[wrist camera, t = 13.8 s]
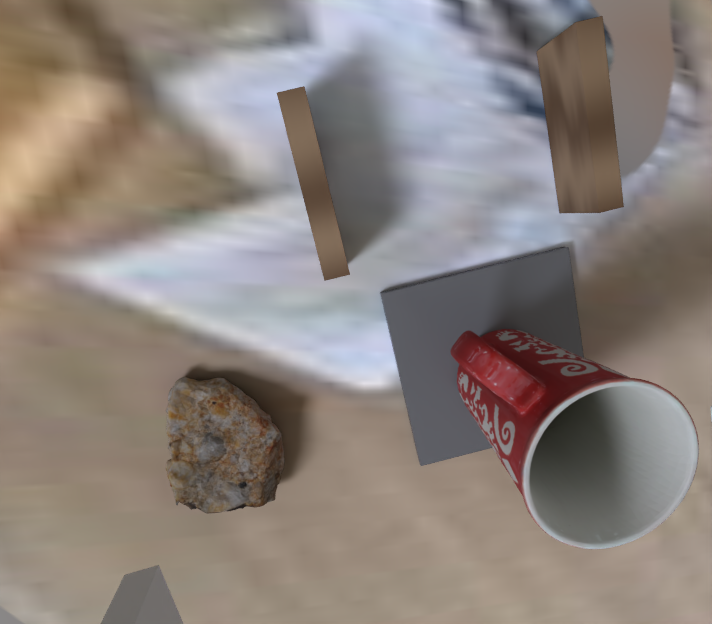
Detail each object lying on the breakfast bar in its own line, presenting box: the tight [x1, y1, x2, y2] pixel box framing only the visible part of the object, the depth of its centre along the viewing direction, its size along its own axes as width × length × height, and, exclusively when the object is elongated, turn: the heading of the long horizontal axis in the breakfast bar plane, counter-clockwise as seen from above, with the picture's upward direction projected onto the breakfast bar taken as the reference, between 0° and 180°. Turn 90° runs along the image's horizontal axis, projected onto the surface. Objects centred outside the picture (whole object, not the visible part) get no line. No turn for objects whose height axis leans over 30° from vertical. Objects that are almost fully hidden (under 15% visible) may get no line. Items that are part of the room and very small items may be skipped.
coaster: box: [380, 247, 584, 466], centre depth 36 cm, size 14×14×1 cm
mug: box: [451, 329, 699, 549], centre depth 29 cm, size 13×9×14 cm
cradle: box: [277, 16, 624, 280], centre depth 31 cm, size 11×19×5 cm, turn 104°
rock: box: [166, 377, 285, 513], centre depth 34 cm, size 9×6×10 cm
